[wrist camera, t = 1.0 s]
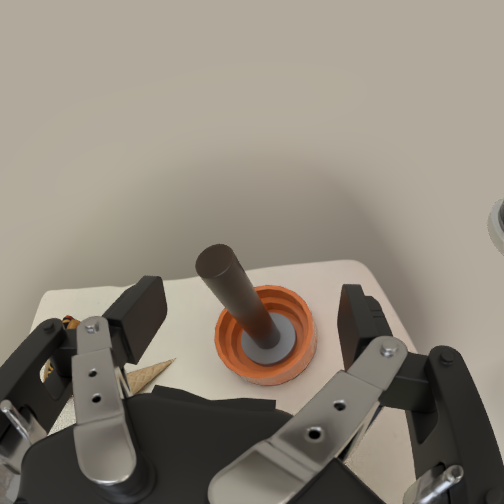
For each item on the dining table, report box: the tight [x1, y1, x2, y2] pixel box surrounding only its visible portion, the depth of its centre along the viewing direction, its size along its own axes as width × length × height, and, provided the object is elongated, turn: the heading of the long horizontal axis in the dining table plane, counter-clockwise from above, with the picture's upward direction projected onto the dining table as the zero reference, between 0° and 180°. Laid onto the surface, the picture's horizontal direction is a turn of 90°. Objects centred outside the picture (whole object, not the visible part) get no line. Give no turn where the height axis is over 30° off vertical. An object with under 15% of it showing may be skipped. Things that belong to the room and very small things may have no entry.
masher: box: [195, 244, 297, 367], centre depth 25 cm, size 6×6×16 cm
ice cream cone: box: [127, 358, 176, 395], centre depth 31 cm, size 5×5×15 cm
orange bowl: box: [215, 285, 317, 386], centre depth 30 cm, size 10×10×4 cm
